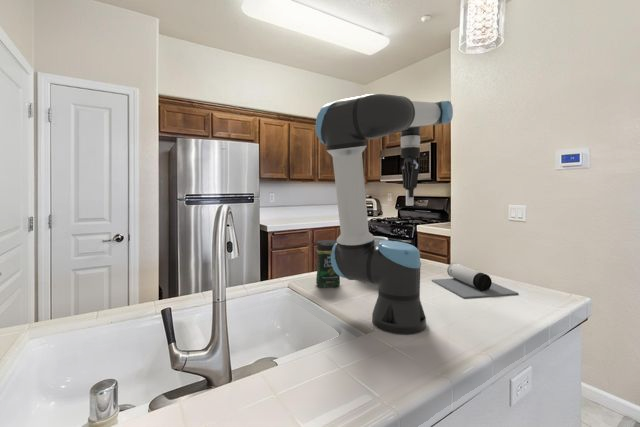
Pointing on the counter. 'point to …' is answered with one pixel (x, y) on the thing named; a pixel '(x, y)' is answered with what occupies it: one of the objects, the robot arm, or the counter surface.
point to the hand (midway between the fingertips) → (409, 205)
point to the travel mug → (469, 276)
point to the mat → (472, 289)
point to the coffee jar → (326, 265)
